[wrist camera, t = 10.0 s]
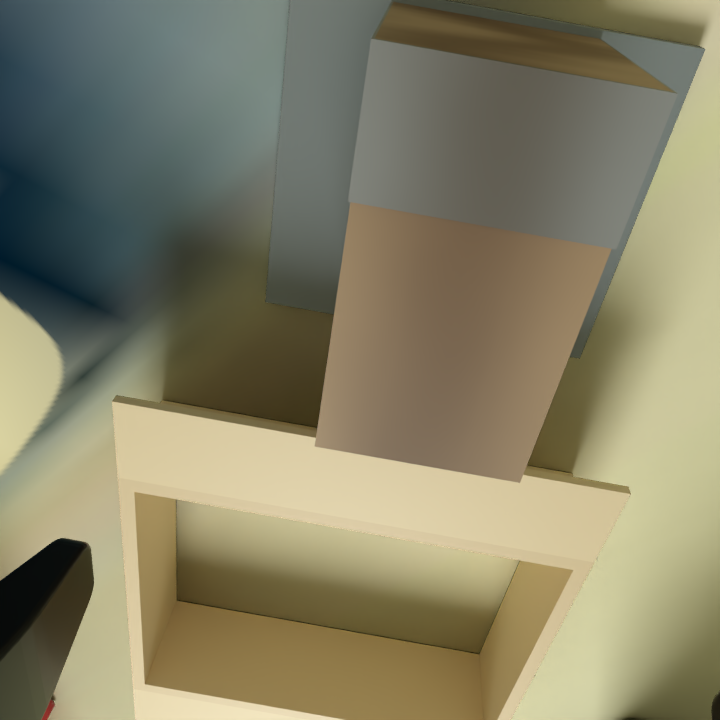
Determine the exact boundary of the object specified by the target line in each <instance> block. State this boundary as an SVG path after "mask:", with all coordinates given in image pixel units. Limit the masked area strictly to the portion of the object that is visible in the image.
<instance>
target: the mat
mask: <svg viewBox="0 0 720 720" xmlns="http://www.w3.org/2000/svg"><path fill="white" fill-rule="evenodd" d="M391 2H398V3H403V4H409V5H414V6H420V7H425V8H431V9H437V10H442V11H448V12H453V13H459V14H464V15H470V16H476V17H481V18H487V19H492V20H498V21H503V22H509V23H515V24H520V25H526V26H531V27H537V28H542V29H548V30H554V31H559V32H565V33H570V34H576V35H581V36H587V37H593V38H598V39H602V40H603V41H605V42H606V43H607V44H609V45H610V46H612V47H613V48H614V49H616V50H617V51H619V52H620V53H621V54H623V55H624V56H626V57H627V58H628V59H630V60H631V61H633V62H634V63H636V64H637V65H638V66H640V67H641V68H643V69H644V70H645V71H647V72H648V73H650V74H651V75H652V76H654V77H655V78H657V79H658V80H659V81H661V82H662V83H664V84H665V85H666V86H668V87H669V88H671V89H672V90H674V91H675V92H676V93H678V95H677V98H676V100H675V103H674V105H673V108H672V110H671V113H670V115H669V118H668V120H667V123H666V125H665V128H664V130H663V133H662V135H661V138H660V141H659V143H658V146H657V148H656V151H655V153H654V156H653V158H652V161H651V163H650V166H649V168H648V171H647V173H646V176H645V178H644V181H643V183H642V186H641V188H640V191H639V194H638V196H637V199H636V201H635V204H634V206H633V209H632V211H631V214H630V216H629V219H628V221H627V224H626V226H625V229H624V231H623V234H622V236H621V239H620V241H619V244H618V247H617V249H611V252H610V255H609V257H608V260H607V262H606V265H605V267H604V270H603V272H602V275H601V277H600V280H599V283H598V285H597V288H596V290H595V293H594V295H593V298H592V300H591V303H590V306H589V308H588V311H587V313H586V316H585V318H584V321H583V323H582V326H581V329H580V331H579V334H578V336H577V339H576V341H575V344H574V346H573V349H572V351H571V354H570V357H574V358H579V359H580V357H581V354H582V352H583V349H584V347H585V344H586V342H587V339H588V337H589V335H590V332H591V330H592V327H593V325H594V322H595V320H596V317H597V315H598V312H599V310H600V307H601V305H602V302H603V300H604V298H605V295H606V293H607V290H608V288H609V285H610V283H611V280H612V278H613V275H614V273H615V270H616V268H617V265H618V263H619V261H620V258H621V256H622V253H623V251H624V248H625V246H626V243H627V241H628V238H629V236H630V233H631V231H632V229H633V226H634V224H635V221H636V219H637V216H638V214H639V211H640V209H641V206H642V204H643V201H644V199H645V196H646V194H647V192H648V189H649V187H650V184H651V182H652V179H653V177H654V174H655V172H656V169H657V167H658V164H659V162H660V159H661V157H662V155H663V152H664V150H665V147H666V145H667V142H668V140H669V137H670V135H671V132H672V130H673V127H674V125H675V123H676V120H677V118H678V115H679V113H680V110H681V108H682V105H683V103H684V100H685V98H686V95H687V93H688V90H689V88H690V86H691V83H692V81H693V78H694V76H695V73H696V71H697V68H698V66H699V63H700V61H701V58H702V56H703V53H704V51H705V49H704V48H702V47H700V46H694V45H689V44H683V43H678V42H672V41H667V40H661V39H656V38H650V37H645V36H639V35H634V34H628V33H623V32H617V31H612V30H606V29H601V28H595V27H590V26H584V25H579V24H573V23H568V22H562V21H557V20H551V19H546V18H541V17H535V16H530V15H524V14H519V13H513V12H508V11H502V10H497V9H491V8H486V7H480V6H475V5H469V4H464V3H458V2H453V1H447V0H290V6H289V18H288V30H287V42H286V55H285V67H284V79H283V92H282V104H281V116H280V128H279V141H278V153H277V165H276V177H275V190H274V202H273V214H272V227H271V239H270V251H269V263H268V276H267V288H266V300H265V302H268V303H273V304H279V305H284V306H290V307H296V308H301V309H307V310H312V311H318V312H323V313H329V314H334V311H335V305H336V298H337V291H338V284H339V277H340V270H341V264H342V257H343V250H344V243H345V236H346V230H347V223H348V216H349V209H350V202H348V195H349V189H350V182H351V175H352V168H353V161H354V154H355V147H356V140H357V133H358V126H359V119H360V112H361V105H362V98H363V91H364V85H365V78H366V71H367V64H368V57H369V50H370V43H371V38H372V36H373V34H374V32H375V31H376V29H377V27H378V25H379V23H380V22H381V20H382V18H383V16H384V14H385V12H386V11H387V9H388V7H389V5H390V3H391Z"/></svg>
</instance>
